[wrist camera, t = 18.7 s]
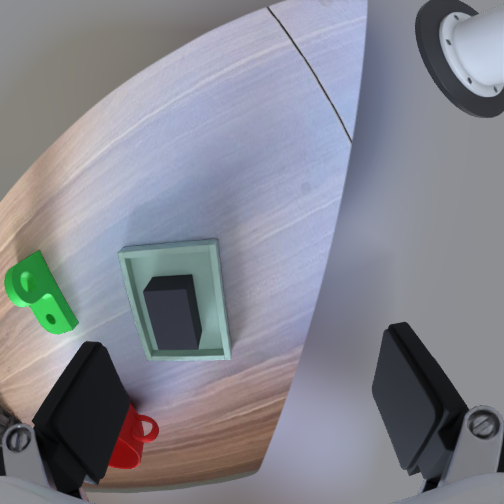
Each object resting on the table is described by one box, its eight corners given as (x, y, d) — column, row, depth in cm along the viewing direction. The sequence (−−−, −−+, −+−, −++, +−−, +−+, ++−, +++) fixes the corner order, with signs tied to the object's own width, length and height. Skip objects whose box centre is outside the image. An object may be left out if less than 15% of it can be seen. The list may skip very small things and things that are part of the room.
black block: (192, 273, 34) (186, 289, 31) (202, 330, 37) (198, 349, 33) (152, 276, 35) (142, 291, 31) (165, 332, 37) (158, 350, 33)
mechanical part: (17, 263, 34) (-15, 285, 27) (39, 249, 34) (5, 271, 26) (54, 330, 38) (29, 360, 30) (78, 322, 37) (53, 354, 30)
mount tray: (217, 238, 34) (215, 244, 32) (231, 349, 39) (231, 359, 37) (123, 246, 34) (117, 252, 32) (150, 351, 39) (146, 360, 37)
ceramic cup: (185, 421, 44) (177, 467, 35) (113, 430, 46) (99, 468, 36) (144, 369, 40) (125, 418, 31) (72, 384, 42) (50, 423, 32)
